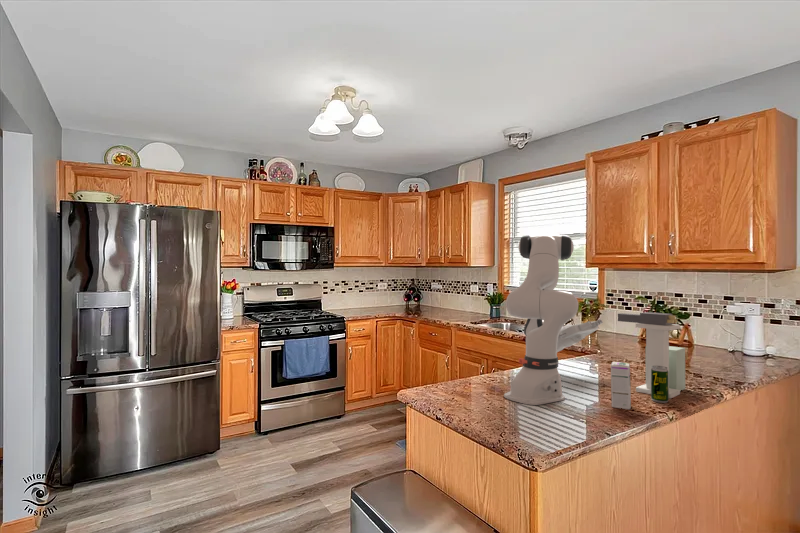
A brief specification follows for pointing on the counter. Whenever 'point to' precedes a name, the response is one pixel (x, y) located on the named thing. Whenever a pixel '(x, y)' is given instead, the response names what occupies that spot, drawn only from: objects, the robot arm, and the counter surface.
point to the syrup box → (620, 385)
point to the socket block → (676, 368)
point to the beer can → (659, 384)
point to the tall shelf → (656, 352)
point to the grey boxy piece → (648, 318)
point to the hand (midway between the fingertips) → (596, 321)
